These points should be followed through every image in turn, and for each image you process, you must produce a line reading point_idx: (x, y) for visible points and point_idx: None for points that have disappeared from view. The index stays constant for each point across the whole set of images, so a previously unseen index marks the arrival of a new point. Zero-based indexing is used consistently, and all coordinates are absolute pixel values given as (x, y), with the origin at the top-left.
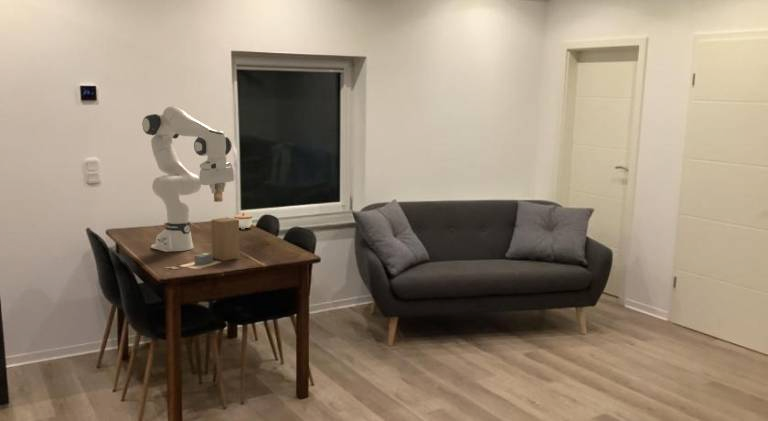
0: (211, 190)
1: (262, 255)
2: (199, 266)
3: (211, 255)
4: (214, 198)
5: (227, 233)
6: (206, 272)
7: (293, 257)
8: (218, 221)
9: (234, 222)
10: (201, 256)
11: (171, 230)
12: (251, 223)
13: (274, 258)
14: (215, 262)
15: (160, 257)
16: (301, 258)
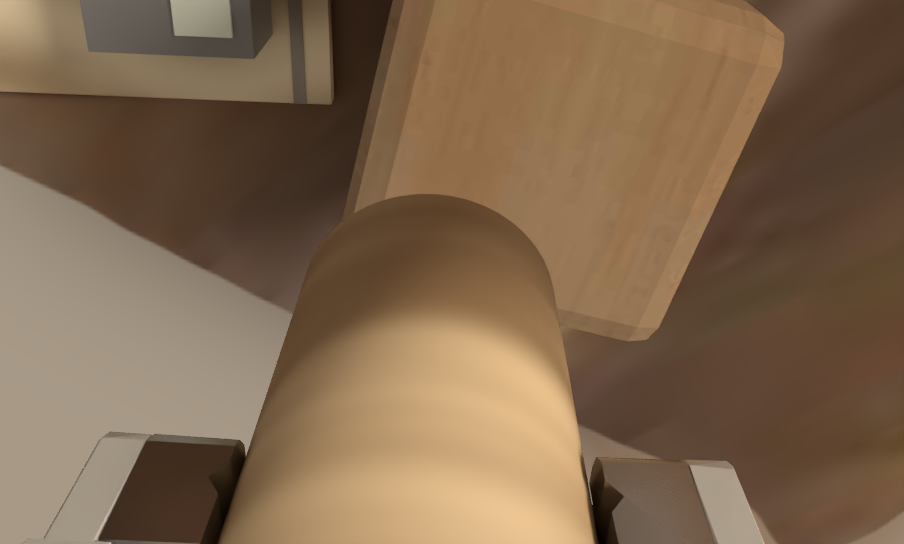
0: (62, 506)
1: (798, 211)
2: (72, 31)
3: (234, 55)
4: (292, 319)
5: None
6: (40, 168)
7: (814, 444)
8: (365, 164)
9: None
10: (99, 24)
11: None
12: None
13: (727, 350)
14: (280, 62)
15: None
16: (802, 499)
